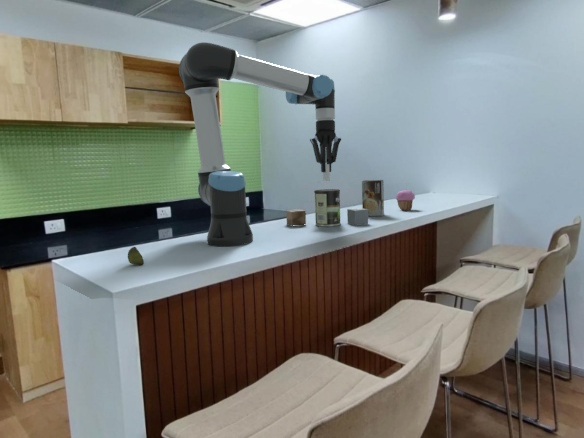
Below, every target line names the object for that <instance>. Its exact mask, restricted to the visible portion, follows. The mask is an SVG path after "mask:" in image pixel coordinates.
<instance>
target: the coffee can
mask: <svg viewBox="0 0 584 438" xmlns="http://www.w3.org/2000/svg"><path fill="white" fill-rule="evenodd" d="M340 191H341V190H340V189H338V188H337V189H336V188H335V189H334V188H332V189H331V188H328V189H327V188H326V189H325V188H324V189H316V190H314V191H313V193H314V212H315V213H314V214H315V218H314V219H315V226H317V227H337V226H340V225H341V198H340V196H341V194H340Z"/></svg>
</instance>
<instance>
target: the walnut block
mask: <svg viewBox="0 0 584 438" xmlns="http://www.w3.org/2000/svg"><path fill="white" fill-rule="evenodd" d="M285 212H286V225H287V224H289V225H292V226H293V225H303V226H305V225H304V224H306V225H307V219H306V215H307V214H306V210H303V209H299V208H298V209H290V210H288V209H287V210H285ZM289 225H288V226H289ZM292 226H291V227H292ZM293 227H294V226H293Z"/></svg>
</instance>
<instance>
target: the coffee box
mask: <svg viewBox="0 0 584 438" xmlns="http://www.w3.org/2000/svg"><path fill="white" fill-rule="evenodd" d="M384 192H385V191H384V180H383V179H367V180H362V181H361V195H362V196H361V199H362V201H361V202H362V205H361V207H362V208H363V209H368V217H383V216H384V215H385V203H384V202H385V199H384V198H385V197H384V194H385V193H384Z"/></svg>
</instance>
